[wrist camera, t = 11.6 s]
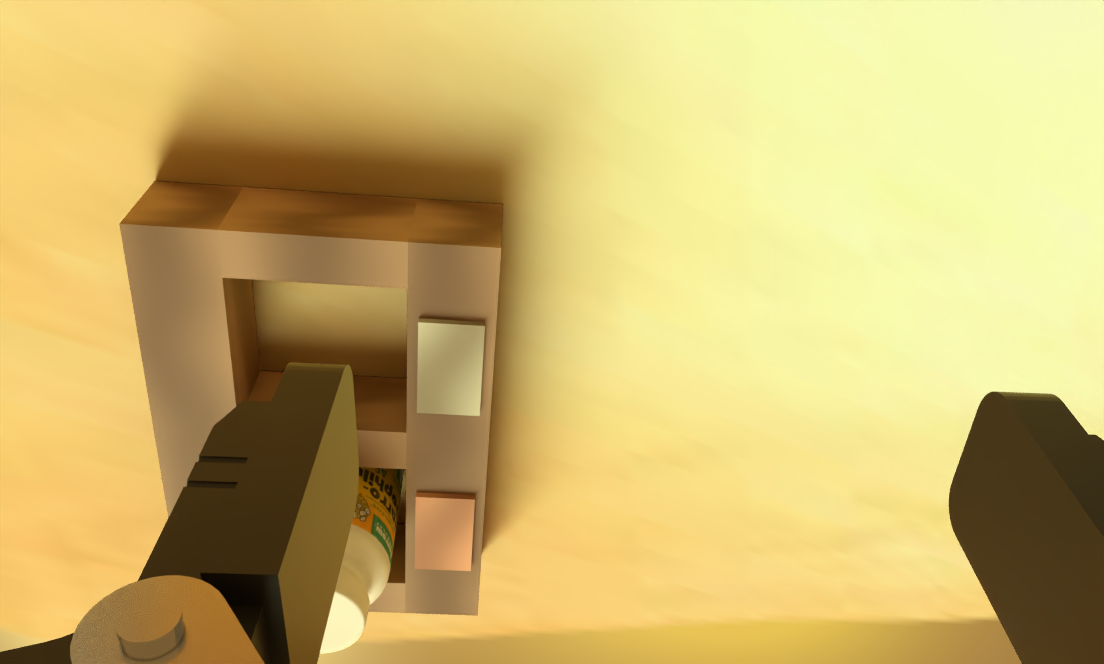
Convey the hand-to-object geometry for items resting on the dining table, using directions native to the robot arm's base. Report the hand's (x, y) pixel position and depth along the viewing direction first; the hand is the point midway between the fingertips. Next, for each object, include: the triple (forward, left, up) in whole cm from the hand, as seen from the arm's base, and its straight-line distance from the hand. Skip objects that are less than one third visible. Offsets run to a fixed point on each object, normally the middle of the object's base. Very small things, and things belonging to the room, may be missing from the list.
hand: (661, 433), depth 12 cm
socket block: (+9, +19, -27) cm, 34 cm away
